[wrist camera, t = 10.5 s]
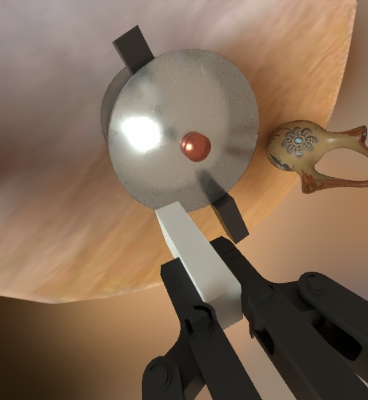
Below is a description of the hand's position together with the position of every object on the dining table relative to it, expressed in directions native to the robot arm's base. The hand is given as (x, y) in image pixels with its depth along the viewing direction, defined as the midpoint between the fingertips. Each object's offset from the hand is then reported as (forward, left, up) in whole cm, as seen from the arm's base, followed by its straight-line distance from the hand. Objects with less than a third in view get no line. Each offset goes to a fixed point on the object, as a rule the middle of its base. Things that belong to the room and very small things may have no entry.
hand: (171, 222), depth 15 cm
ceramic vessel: (-4, +39, -33) cm, 51 cm away
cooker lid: (+2, +13, -18) cm, 22 cm away
